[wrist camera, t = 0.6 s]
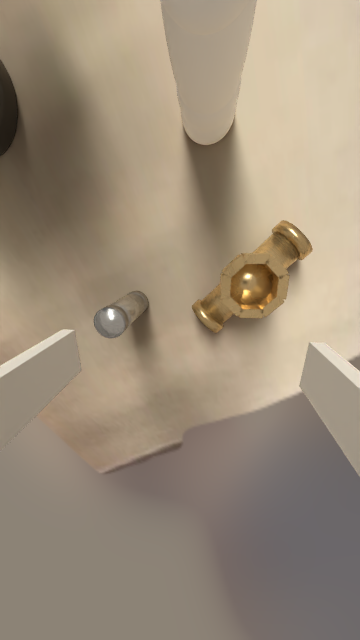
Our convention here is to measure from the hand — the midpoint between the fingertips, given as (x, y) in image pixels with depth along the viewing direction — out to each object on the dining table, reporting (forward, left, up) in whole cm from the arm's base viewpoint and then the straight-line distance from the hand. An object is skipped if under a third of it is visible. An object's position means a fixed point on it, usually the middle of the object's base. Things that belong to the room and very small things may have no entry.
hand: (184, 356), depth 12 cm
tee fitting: (+4, +6, -26) cm, 27 cm away
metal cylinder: (-6, -10, -26) cm, 28 cm away
